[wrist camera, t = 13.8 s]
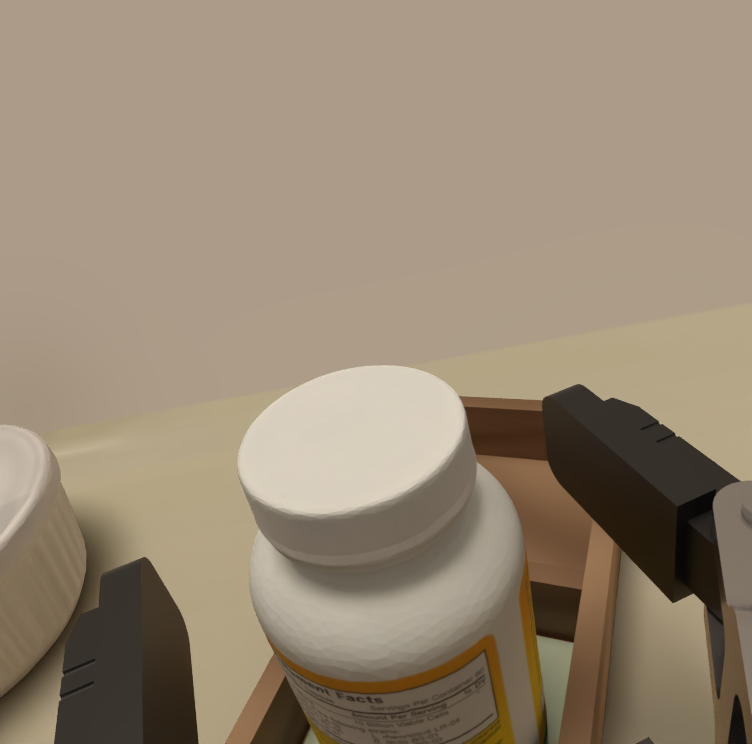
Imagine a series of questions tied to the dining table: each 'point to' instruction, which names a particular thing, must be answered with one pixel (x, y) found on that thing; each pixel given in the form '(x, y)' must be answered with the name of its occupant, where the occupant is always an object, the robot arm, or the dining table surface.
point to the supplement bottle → (390, 565)
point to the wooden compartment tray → (547, 581)
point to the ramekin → (34, 553)
